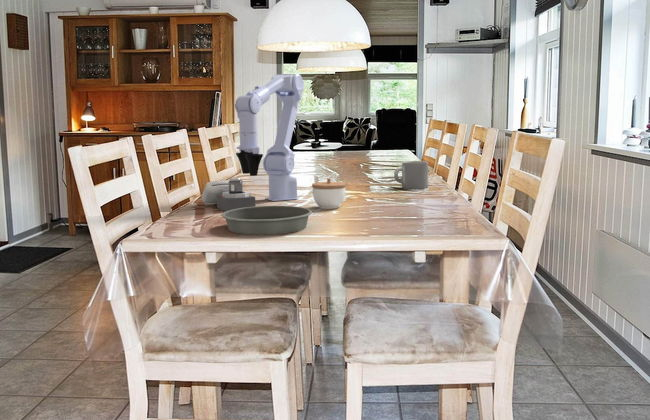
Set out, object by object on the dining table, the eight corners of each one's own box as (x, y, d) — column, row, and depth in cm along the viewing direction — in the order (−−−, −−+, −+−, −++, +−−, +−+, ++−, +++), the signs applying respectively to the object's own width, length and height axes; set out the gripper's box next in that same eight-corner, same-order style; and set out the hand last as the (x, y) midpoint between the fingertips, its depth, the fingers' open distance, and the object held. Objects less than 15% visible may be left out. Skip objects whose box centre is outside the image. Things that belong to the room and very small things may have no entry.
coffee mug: (424, 185, 282) (424, 160, 280) (430, 188, 272) (430, 162, 270) (391, 186, 280) (391, 161, 279) (395, 189, 271) (395, 163, 269)
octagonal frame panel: (246, 205, 235) (246, 190, 235) (255, 209, 227) (255, 193, 227) (217, 208, 231) (216, 192, 230) (225, 211, 223) (224, 195, 222)
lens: (232, 195, 232) (231, 177, 231) (244, 195, 230) (244, 177, 229) (226, 197, 227) (225, 179, 226) (239, 197, 226) (238, 179, 225)
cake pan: (233, 220, 208) (233, 205, 208) (317, 220, 206) (317, 205, 205) (211, 236, 184) (211, 219, 183) (305, 236, 182) (305, 219, 181)
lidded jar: (307, 209, 226) (307, 179, 224) (319, 204, 236) (319, 176, 234) (339, 210, 222) (339, 180, 221) (350, 205, 232) (349, 177, 231)
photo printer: (230, 191, 244) (236, 177, 232) (232, 202, 242) (238, 189, 231) (200, 193, 240) (205, 179, 229) (202, 205, 239) (207, 191, 228)
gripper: (229, 132, 236) (231, 173, 238) (243, 134, 223) (245, 177, 225) (250, 131, 239) (251, 172, 241) (265, 133, 226) (266, 176, 228)
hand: (249, 174), depth 233 cm, fingers open, 7 cm apart
